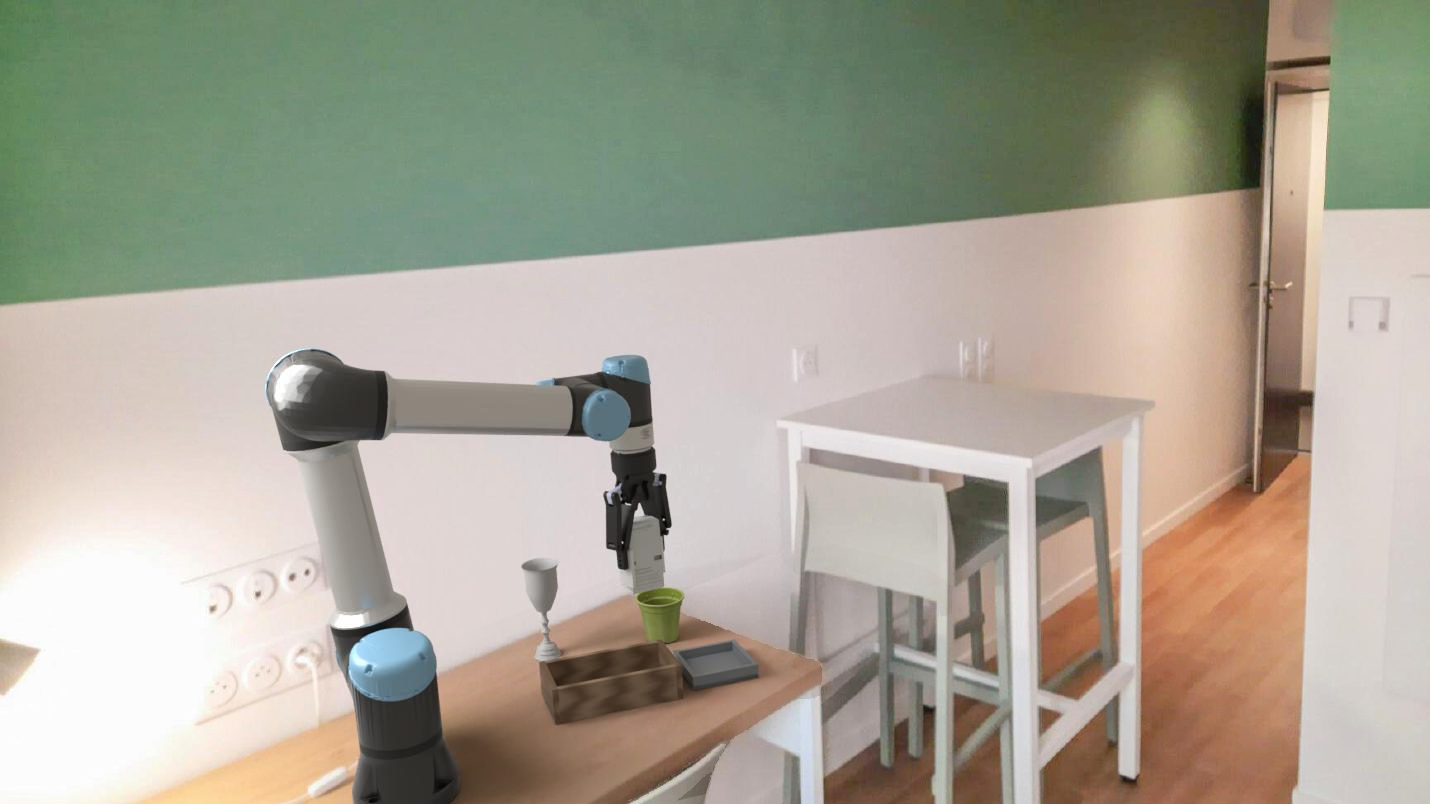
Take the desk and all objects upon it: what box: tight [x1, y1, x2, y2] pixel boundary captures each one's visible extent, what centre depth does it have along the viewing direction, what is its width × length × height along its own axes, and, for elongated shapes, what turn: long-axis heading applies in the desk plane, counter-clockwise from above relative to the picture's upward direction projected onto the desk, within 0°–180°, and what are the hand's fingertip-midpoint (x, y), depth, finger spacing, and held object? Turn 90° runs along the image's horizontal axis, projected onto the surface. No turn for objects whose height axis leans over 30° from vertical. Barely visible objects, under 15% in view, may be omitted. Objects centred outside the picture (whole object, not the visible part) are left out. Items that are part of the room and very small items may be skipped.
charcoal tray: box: [672, 639, 760, 692], centre depth 193 cm, size 12×12×2 cm
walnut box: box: [538, 639, 684, 725], centre depth 185 cm, size 22×12×6 cm, turn 109°
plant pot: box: [635, 586, 685, 644], centre depth 208 cm, size 9×9×9 cm
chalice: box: [520, 557, 562, 662], centre depth 202 cm, size 7×7×18 cm
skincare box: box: [622, 515, 665, 595], centre depth 184 cm, size 6×4×12 cm
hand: (643, 578), depth 185 cm, fingers closed on skincare box, 7 cm apart
